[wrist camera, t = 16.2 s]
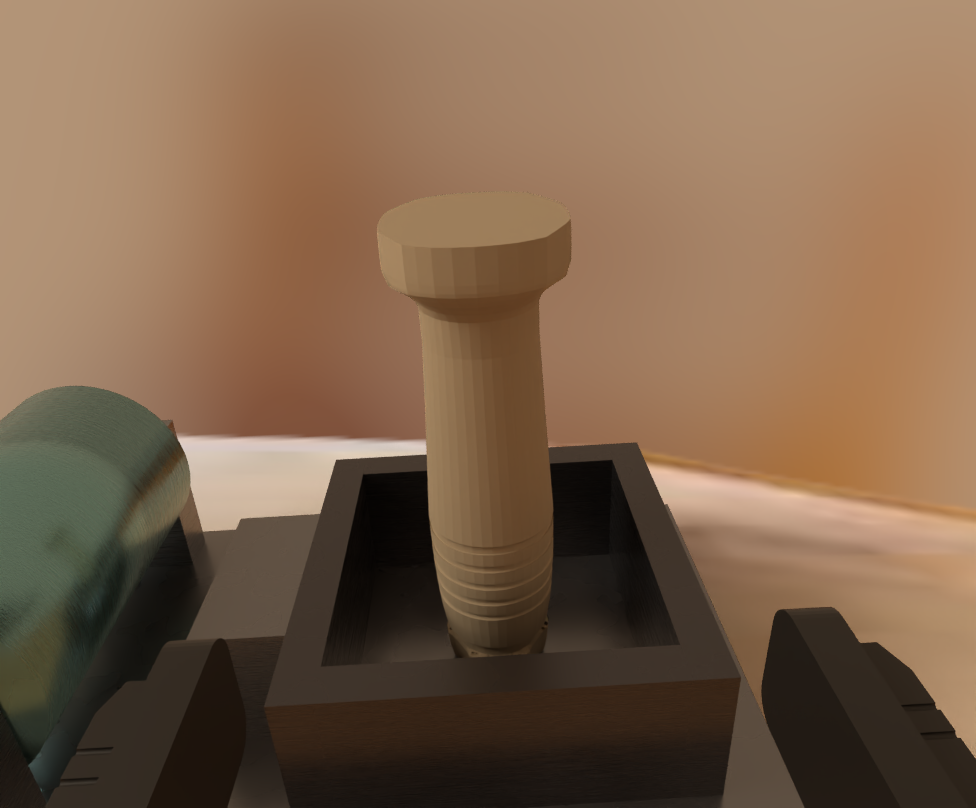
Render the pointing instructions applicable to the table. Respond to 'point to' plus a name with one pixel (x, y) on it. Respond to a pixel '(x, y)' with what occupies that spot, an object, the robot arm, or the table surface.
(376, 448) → the table surface
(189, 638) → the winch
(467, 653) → the handle
